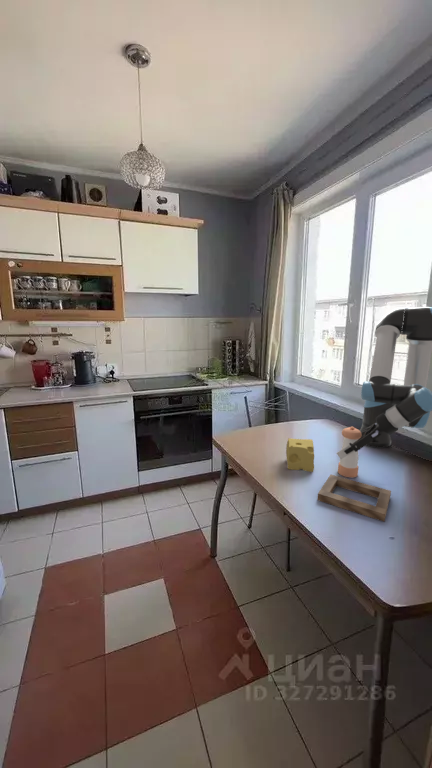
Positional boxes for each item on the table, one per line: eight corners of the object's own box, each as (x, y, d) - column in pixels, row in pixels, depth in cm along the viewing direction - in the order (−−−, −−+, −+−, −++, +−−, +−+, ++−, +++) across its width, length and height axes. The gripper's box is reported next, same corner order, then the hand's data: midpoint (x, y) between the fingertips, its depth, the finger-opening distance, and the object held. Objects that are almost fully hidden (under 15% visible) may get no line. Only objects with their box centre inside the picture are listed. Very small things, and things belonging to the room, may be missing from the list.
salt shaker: (356, 479, 119) (361, 431, 115) (335, 474, 123) (340, 427, 119) (359, 471, 125) (364, 425, 121) (339, 467, 129) (344, 422, 125)
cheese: (313, 472, 124) (315, 448, 122) (285, 469, 126) (287, 446, 124) (311, 461, 134) (313, 439, 132) (285, 458, 136) (286, 436, 134)
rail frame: (390, 497, 107) (391, 490, 107) (384, 521, 94) (385, 514, 94) (330, 480, 118) (330, 474, 118) (317, 500, 105) (317, 493, 105)
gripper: (396, 439, 102) (341, 470, 113) (402, 420, 121) (355, 448, 133) (380, 420, 103) (328, 453, 115) (388, 404, 123) (343, 433, 134)
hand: (342, 450), depth 124 cm, fingers open, 11 cm apart
